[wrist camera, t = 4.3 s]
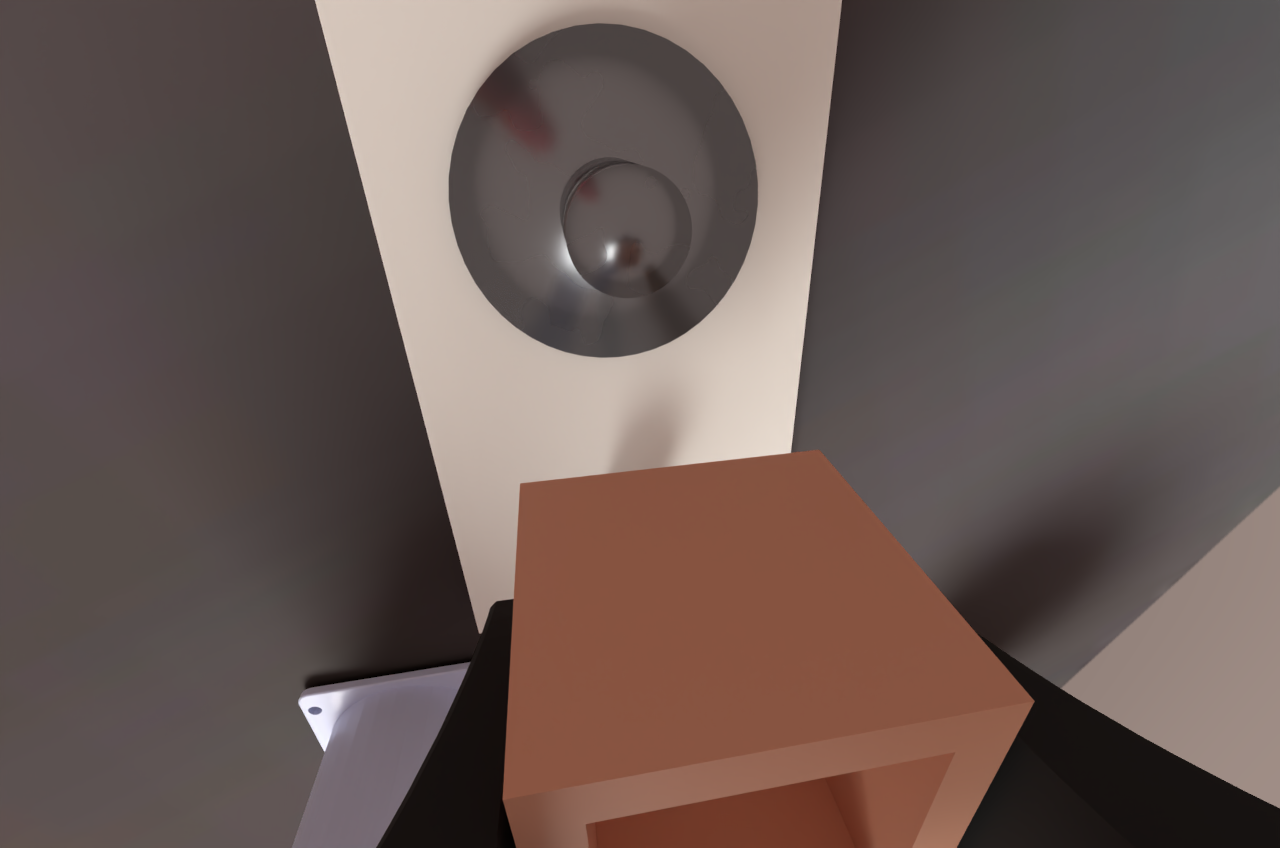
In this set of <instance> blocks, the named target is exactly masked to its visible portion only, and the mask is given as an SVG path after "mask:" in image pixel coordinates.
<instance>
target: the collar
mask: <svg viewBox="0 0 1280 848" xmlns="http://www.w3.org/2000/svg"><path fill="white" fill-rule="evenodd" d="M1034 702H1035V701H1034V700H1033V699H1032V698H1031V696H1030V695H1029V694H1028V693H1027V692H1026V691H1025V689H1024V688H1023V687H1022V686H1021V685H1020V684H1019V682H1018V681H1017V680H1016V679H1015V678H1014V677H1013V675H1012V674H1011V673H1010V672H1009V671H1008V670H1007V668H1006V667H1005V666H1004V665H1003V664H1002V663H1001V661H1000V660H999V659H998V658H997V657H996V656H995V654H994V653H993V652H992V651H991V650H990V649H989V647H988V646H987V645H986V644H985V643H984V642H983V640H982V639H981V638H980V637H979V636H978V635H977V633H976V632H975V631H974V630H973V629H972V628H971V626H970V625H969V624H968V623H967V622H966V621H965V619H964V618H963V617H962V616H961V615H960V614H959V612H958V611H957V610H956V609H955V608H954V607H953V605H952V604H951V603H950V602H949V601H948V600H947V598H946V597H945V596H944V595H943V594H942V593H941V591H940V590H939V589H938V588H937V587H936V586H935V584H934V583H933V582H932V581H931V580H930V579H929V577H928V576H927V575H926V574H925V573H924V572H923V570H922V569H921V568H920V567H919V566H918V565H917V563H916V562H915V561H914V560H913V559H912V558H911V556H910V555H909V554H908V553H907V552H906V551H905V549H904V548H903V547H902V546H901V545H900V543H899V542H898V541H897V540H896V539H895V538H894V536H893V535H892V534H891V533H890V532H889V531H888V529H887V528H886V527H885V526H884V525H883V524H882V522H881V521H880V520H879V519H878V518H877V517H876V515H875V514H874V513H873V512H872V511H871V510H870V508H869V507H868V506H867V505H866V504H865V503H864V501H863V500H862V499H861V498H860V497H859V496H858V494H857V493H856V492H855V491H854V490H853V489H852V487H851V486H850V485H849V484H848V483H847V482H846V480H845V479H844V478H843V477H842V476H841V475H840V473H839V472H838V471H837V470H836V469H835V468H834V466H833V465H832V464H831V463H830V462H829V461H828V459H827V458H826V457H825V456H824V455H823V454H822V452H821V451H820V450H813V451H804V452H795V453H786V454H777V455H768V456H759V457H750V458H741V459H733V460H724V461H715V462H706V463H697V464H688V465H679V466H670V467H661V468H652V469H644V470H635V471H626V472H617V473H608V474H599V475H590V476H581V477H572V478H564V479H555V480H546V481H537V482H528V483H520V493H519V511H518V529H517V547H516V566H515V584H514V602H513V620H512V639H511V657H510V675H509V693H508V712H507V730H506V748H505V766H504V785H503V803H504V806H505V810H506V813H507V817H508V820H509V824H510V828H511V831H512V835H513V838H514V842H515V845H516V848H957V846H958V844H959V842H960V840H961V839H962V837H963V835H964V833H965V831H966V829H967V827H968V825H969V823H970V822H971V820H972V818H973V816H974V814H975V812H976V810H977V808H978V807H979V805H980V803H981V801H982V799H983V797H984V795H985V793H986V792H987V790H988V788H989V786H990V784H991V782H992V780H993V778H994V777H995V775H996V773H997V771H998V769H999V767H1000V765H1001V763H1002V762H1003V760H1004V758H1005V756H1006V754H1007V752H1008V750H1009V748H1010V747H1011V745H1012V743H1013V741H1014V739H1015V737H1016V735H1017V733H1018V732H1019V730H1020V728H1021V726H1022V724H1023V722H1024V720H1025V718H1026V717H1027V715H1028V713H1029V711H1030V709H1031V707H1032V705H1033V703H1034Z"/></svg>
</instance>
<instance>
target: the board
mask: <svg viewBox="0 0 1280 848" xmlns="http://www.w3.org/2000/svg"><path fill="white" fill-rule="evenodd" d="M315 2H316V6H317V10H318V14H319V18H320V22H321V26H322V29H323V33H324V37H325V41H326V45H327V49H328V53H329V56H330V60H331V64H332V68H333V72H334V76H335V80H336V83H337V87H338V91H339V95H340V99H341V103H342V107H343V110H344V114H345V118H346V122H347V126H348V130H349V134H350V137H351V141H352V145H353V149H354V153H355V157H356V161H357V164H358V168H359V172H360V176H361V180H362V184H363V188H364V191H365V195H366V199H367V203H368V207H369V211H370V215H371V218H372V222H373V226H374V230H375V234H376V238H377V242H378V245H379V249H380V253H381V257H382V261H383V265H384V269H385V272H386V276H387V280H388V284H389V288H390V292H391V296H392V299H393V303H394V307H395V311H396V315H397V319H398V323H399V326H400V330H401V334H402V338H403V342H404V346H405V350H406V353H407V357H408V361H409V365H410V369H411V373H412V377H413V380H414V384H415V388H416V392H417V396H418V400H419V404H420V407H421V411H422V415H423V419H424V423H425V427H426V431H427V434H428V438H429V442H430V446H431V450H432V454H433V458H434V461H435V465H436V469H437V473H438V477H439V481H440V485H441V488H442V492H443V496H444V500H445V504H446V508H447V512H448V515H449V519H450V523H451V527H452V531H453V535H454V539H455V542H456V546H457V550H458V554H459V558H460V562H461V566H462V569H463V573H464V577H465V581H466V585H467V589H468V593H469V596H470V600H471V604H472V608H473V612H474V616H475V620H476V623H477V627H478V631H479V634H480V633H482V631H483V628H484V626H485V623H486V620H487V617H488V613H489V610H490V607H491V606H492V605H493V604H494V603H495V602H496V601H502V600H509V599H514V584H515V566H516V547H517V529H518V511H519V493H520V483H528V482H537V481H546V480H555V479H564V478H572V477H581V476H590V475H599V474H608V473H617V472H626V471H635V470H644V469H652V468H661V467H670V466H679V465H688V464H697V463H706V462H715V461H724V460H733V459H741V458H750V457H759V456H768V455H777V454H786V453H791V446H792V437H793V429H794V420H795V411H796V402H797V393H798V385H799V376H800V367H801V358H802V349H803V340H804V332H805V323H806V314H807V305H808V296H809V287H810V279H811V270H812V261H813V252H814V243H815V235H816V226H817V217H818V208H819V199H820V190H821V182H822V173H823V164H824V155H825V146H826V138H827V129H828V120H829V111H830V102H831V93H832V85H833V76H834V67H835V58H836V49H837V40H838V32H839V23H840V14H841V5H842V0H315ZM595 23H604V24H620V25H626V26H630V27H635V28H639V29H643V30H646V31H649V32H651V33H654V34H656V35H659V36H661V37H664V38H666V39H668V40H670V41H671V42H673V43H675V44H677V45H678V46H680V47H682V48H683V49H685V50H686V51H688V52H689V53H690V54H691V55H693V56H694V57H695V58H696V59H698V60H699V61H700V62H701V63H703V64H704V65H705V66H706V67H707V68H708V70H709V71H710V72H711V73H712V74H713V75H714V76H715V77H716V78H717V79H718V80H719V81H720V83H721V84H722V86H723V87H724V89H725V90H726V91H727V93H728V94H729V96H730V97H731V98H732V100H733V102H734V104H735V106H736V108H737V109H738V111H739V113H740V115H741V117H742V119H743V122H744V124H745V127H746V130H747V132H748V135H749V138H750V140H751V145H752V149H753V153H754V157H755V161H756V170H757V179H758V207H757V215H756V223H755V228H754V232H753V236H752V240H751V244H750V247H749V250H748V253H747V255H746V258H745V261H744V263H743V265H742V267H741V269H740V271H739V273H738V275H737V277H736V279H735V281H734V283H733V284H732V286H731V287H730V289H729V290H728V292H727V293H726V295H725V296H724V297H723V299H722V300H721V301H720V302H719V303H718V305H717V306H716V307H715V308H714V309H713V311H711V312H710V313H709V314H708V315H707V316H706V317H705V318H704V319H703V320H702V321H701V322H700V323H699V324H697V325H696V326H695V327H693V328H692V329H691V330H689V331H688V332H687V333H685V334H684V335H682V336H680V337H678V338H677V339H675V340H673V341H671V342H670V343H667V344H665V345H663V346H660V347H658V348H656V349H653V350H650V351H646V352H643V353H639V354H636V355H629V356H623V357H608V358H598V357H587V356H580V355H576V354H571V353H567V352H563V351H561V350H558V349H555V348H552V347H549V346H547V345H545V344H543V343H541V342H539V341H537V340H535V339H533V338H531V337H529V336H528V335H526V334H525V333H523V332H522V331H520V330H519V329H517V328H516V327H515V326H513V325H512V324H511V323H510V322H509V321H508V320H506V319H505V318H504V317H503V316H502V315H501V314H500V313H499V312H498V311H497V310H496V309H495V308H494V307H493V306H492V305H491V303H490V302H489V301H488V300H487V299H486V297H485V296H484V295H483V293H482V292H481V290H480V289H479V288H478V286H477V285H476V283H475V282H474V280H473V278H472V276H471V274H470V273H469V271H468V269H467V267H466V265H465V263H464V260H463V258H462V255H461V253H460V250H459V248H458V245H457V242H456V238H455V234H454V230H453V226H452V222H451V215H450V207H449V170H450V162H451V155H452V150H453V147H454V143H455V139H456V135H457V132H458V129H459V127H460V124H461V122H462V120H463V117H464V115H465V112H466V110H467V108H468V106H469V105H470V103H471V101H472V100H473V98H474V96H475V95H476V93H477V91H478V90H479V88H480V87H481V86H482V84H483V83H484V82H485V81H486V80H487V78H488V77H489V76H490V75H491V73H492V72H493V71H494V70H495V69H496V68H497V67H498V66H499V65H500V64H501V63H503V62H504V61H505V60H506V59H507V58H508V57H509V56H510V55H511V54H513V53H514V52H516V51H517V50H519V49H520V48H522V47H523V46H525V45H526V44H528V43H530V42H531V41H533V40H535V39H537V38H540V37H542V36H544V35H546V34H549V33H551V32H553V31H557V30H560V29H564V28H568V27H572V26H575V25H585V24H595Z"/></svg>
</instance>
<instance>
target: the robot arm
mask: <svg viewBox="0 0 1280 848" xmlns="http://www.w3.org/2000/svg"><path fill="white" fill-rule="evenodd" d="M513 602H514V599H509V600H502V601H496V602H495V603H494V604H493V605H492V606H491V607H490V610H489V613H488V617H487V620H486V623H485V626H484V628H483V631H482V634H481V637H480V639H479V642H478V645H477V647H476V650H475V652H474V655H473V657H472V660H471V662H467V663H461V664H455V665H448V666H442V667H436V668H430V669H424V670H417V671H411V672H405V673H399V674H393V675H386V676H380V677H374V678H368V679H362V680H355V681H349V682H343V683H337V684H331V685H324V686H318V687H312V688H308V689H305V690H304V691H303V692H302V694H301V696H300V698H299V701H298V702H299V705H300V707H301V709H302V711H303V713H304V715H305V717H306V718H307V720H308V722H309V724H310V726H311V728H312V730H313V731H314V733H315V735H316V737H317V739H318V741H319V743H320V744H321V746H322V748H323V750H324V752H325V753H324V756H323V759H322V762H321V765H320V768H319V771H318V774H317V776H316V779H315V782H314V785H313V788H312V791H311V794H310V797H309V800H308V803H307V805H306V808H305V811H304V814H303V817H302V820H301V823H300V826H299V829H298V831H297V834H296V837H295V840H294V843H293V846H292V848H516V845H515V842H514V838H513V835H512V831H511V828H510V824H509V820H508V817H507V813H506V810H505V806H504V803H503V785H504V766H505V748H506V730H507V712H508V693H509V675H510V657H511V639H512V620H513ZM977 635H978V636H979V637H980V638H981V639H982V640H983V642H984V643H985V644H986V645H987V646H988V647H989V649H990V650H991V651H992V652H993V653H994V654H995V656H996V657H997V658H998V659H999V660H1000V661H1001V663H1002V664H1003V665H1004V666H1005V667H1006V668H1007V670H1008V671H1009V672H1010V673H1011V674H1012V675H1013V677H1014V678H1015V679H1016V680H1017V681H1018V682H1019V684H1020V685H1021V686H1022V687H1023V688H1024V689H1025V691H1026V692H1027V693H1028V694H1029V695H1030V696H1031V698H1032V699H1033V700H1034V701H1035V702H1034V703H1033V705H1032V707H1031V709H1030V711H1029V713H1028V715H1027V717H1026V718H1025V720H1024V722H1023V724H1022V726H1021V728H1020V730H1019V732H1018V733H1017V735H1016V737H1015V739H1014V741H1013V743H1012V745H1011V747H1010V748H1009V750H1008V752H1007V754H1006V756H1005V758H1004V760H1003V762H1002V763H1001V765H1000V767H999V769H998V771H997V773H996V775H995V777H994V778H993V780H992V782H991V784H990V786H989V788H988V790H987V792H986V793H985V795H984V797H983V799H982V801H981V803H980V805H979V807H978V808H977V810H976V812H975V814H974V816H973V818H972V820H971V822H970V823H969V825H968V827H967V829H966V831H965V833H964V835H963V837H962V839H961V840H960V842H959V844H958V846H957V848H1280V808H1277V807H1276V806H1274V805H1271V804H1269V803H1267V802H1265V801H1263V800H1261V799H1259V798H1257V797H1255V796H1253V795H1251V794H1249V793H1247V792H1245V791H1243V790H1241V789H1239V788H1237V787H1235V786H1233V785H1231V784H1230V783H1228V782H1226V781H1224V780H1222V779H1220V778H1218V777H1216V776H1214V775H1212V774H1210V773H1208V772H1207V771H1205V770H1203V769H1201V768H1199V767H1197V766H1195V765H1193V764H1191V763H1189V762H1187V761H1186V760H1184V759H1182V758H1180V757H1178V756H1176V755H1174V754H1172V753H1170V752H1169V751H1167V750H1165V749H1163V748H1161V747H1160V746H1158V745H1156V744H1154V743H1152V742H1150V741H1149V740H1147V739H1145V738H1143V737H1141V736H1140V735H1138V734H1136V733H1134V732H1133V731H1131V730H1129V729H1128V728H1126V727H1124V726H1122V725H1121V724H1119V723H1117V722H1116V721H1114V720H1112V719H1110V718H1109V717H1107V716H1105V715H1104V714H1102V713H1100V712H1098V711H1097V710H1095V709H1093V708H1091V707H1090V706H1088V705H1086V704H1085V703H1083V702H1081V701H1080V700H1078V699H1076V698H1075V697H1073V696H1072V695H1070V694H1068V693H1067V692H1065V691H1063V690H1062V689H1060V688H1059V687H1057V686H1055V685H1054V684H1052V683H1051V682H1049V681H1048V680H1046V679H1045V678H1043V677H1042V676H1040V675H1039V674H1037V673H1035V672H1034V671H1032V670H1031V669H1029V668H1028V667H1026V666H1025V665H1023V664H1022V663H1020V662H1019V661H1017V660H1016V659H1014V658H1012V657H1011V656H1010V655H1008V654H1007V653H1005V652H1004V651H1002V650H1001V649H999V648H998V647H996V646H995V645H993V644H992V643H990V642H989V641H988V640H986V639H985V638H983V637H982V636H980V635H979V634H978V633H977Z"/></svg>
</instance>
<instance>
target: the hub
mask: <svg viewBox="0 0 1280 848" xmlns="http://www.w3.org/2000/svg"><path fill="white" fill-rule="evenodd" d="M449 207H450V215H451V222H452V226H453V230H454V234H455V238H456V242H457V245H458V248H459V250H460V253H461V255H462V258H463V260H464V263H465V265H466V267H467V269H468V271H469V273H470V274H471V276H472V278H473V280H474V282H475V283H476V285H477V286H478V288H479V289H480V290H481V292H482V293H483V295H484V296H485V297H486V299H487V300H488V301H489V302H490V303H491V305H492V306H493V307H494V308H495V309H496V310H497V311H498V312H499V313H500V314H501V315H502V316H503V317H504V318H505V319H506V320H508V321H509V322H510V323H511V324H512V325H513V326H515V327H516V328H517V329H519V330H520V331H522V332H523V333H525V334H526V335H528V336H529V337H531V338H533V339H535V340H537V341H539V342H541V343H543V344H545V345H547V346H549V347H552V348H555V349H558V350H561V351H563V352H567V353H571V354H576V355H580V356H587V357H598V358H608V357H623V356H629V355H636V354H639V353H643V352H646V351H650V350H653V349H656V348H658V347H660V346H663V345H665V344H667V343H670V342H671V341H673V340H675V339H677V338H678V337H680V336H682V335H684V334H685V333H687V332H688V331H689V330H691V329H692V328H693V327H695V326H696V325H697V324H699V323H700V322H701V321H702V320H703V319H704V318H705V317H706V316H707V315H708V314H709V313H710V312H711V311H713V309H714V308H715V307H716V306H717V305H718V303H719V302H720V301H721V300H722V299H723V297H724V296H725V295H726V293H727V292H728V290H729V289H730V287H731V286H732V284H733V283H734V281H735V279H736V277H737V275H738V273H739V271H740V269H741V267H742V265H743V263H744V261H745V258H746V255H747V253H748V250H749V247H750V244H751V240H752V236H753V232H754V228H755V223H756V215H757V207H758V179H757V170H756V161H755V157H754V153H753V149H752V145H751V140H750V138H749V135H748V132H747V130H746V127H745V124H744V122H743V119H742V117H741V115H740V113H739V111H738V109H737V108H736V106H735V104H734V102H733V100H732V98H731V97H730V96H729V94H728V93H727V91H726V90H725V89H724V87H723V86H722V84H721V83H720V81H719V80H718V79H717V78H716V77H715V76H714V75H713V74H712V73H711V72H710V71H709V70H708V68H707V67H706V66H705V65H704V64H703V63H701V62H700V61H699V60H698V59H696V58H695V57H694V56H693V55H691V54H690V53H689V52H688V51H686V50H685V49H683V48H682V47H680V46H678V45H677V44H675V43H673V42H671V41H670V40H668V39H666V38H664V37H661V36H659V35H656V34H654V33H651V32H649V31H646V30H643V29H639V28H635V27H630V26H626V25H620V24H604V23H595V24H585V25H575V26H572V27H568V28H564V29H560V30H557V31H553V32H551V33H549V34H546V35H544V36H542V37H540V38H537V39H535V40H533V41H531V42H530V43H528V44H526V45H525V46H523V47H522V48H520V49H519V50H517V51H516V52H514V53H513V54H511V55H510V56H509V57H508V58H507V59H506V60H505V61H504V62H503V63H501V64H500V65H499V66H498V67H497V68H496V69H495V70H494V71H493V72H492V73H491V75H490V76H489V77H488V78H487V80H486V81H485V82H484V83H483V84H482V86H481V87H480V88H479V90H478V91H477V93H476V95H475V96H474V98H473V100H472V101H471V103H470V105H469V106H468V108H467V110H466V112H465V115H464V117H463V120H462V122H461V124H460V127H459V129H458V132H457V135H456V139H455V143H454V147H453V150H452V155H451V162H450V170H449Z"/></svg>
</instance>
